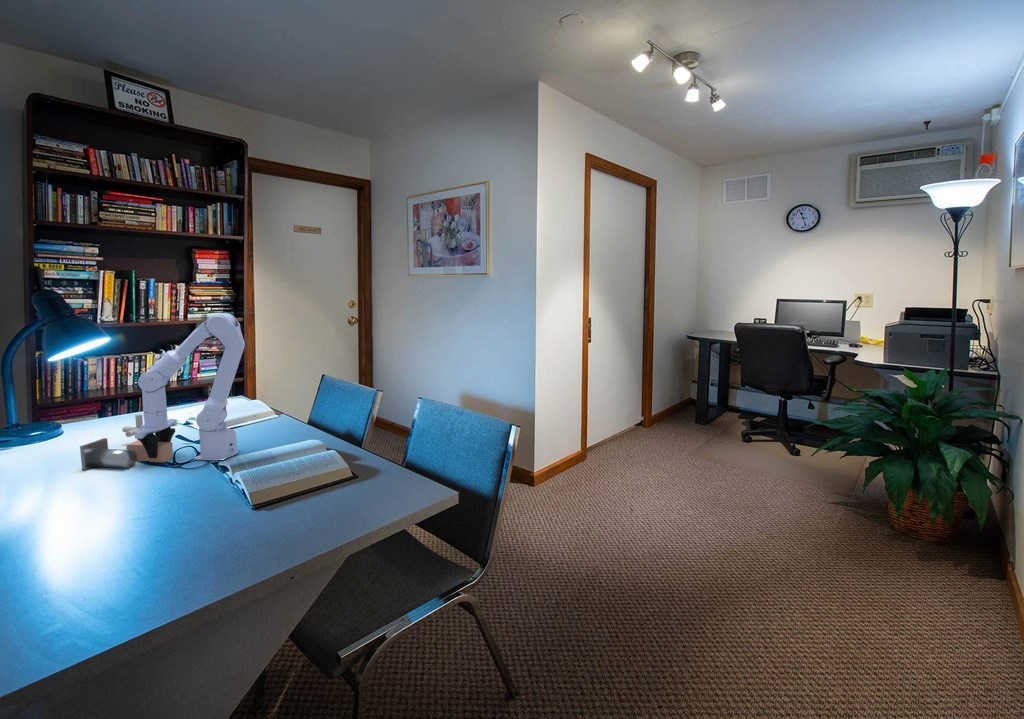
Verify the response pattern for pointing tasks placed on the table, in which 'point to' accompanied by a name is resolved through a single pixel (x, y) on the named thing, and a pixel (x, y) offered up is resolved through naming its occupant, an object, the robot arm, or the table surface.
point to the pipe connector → (131, 430)
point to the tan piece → (163, 454)
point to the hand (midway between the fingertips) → (158, 455)
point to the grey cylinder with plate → (105, 456)
